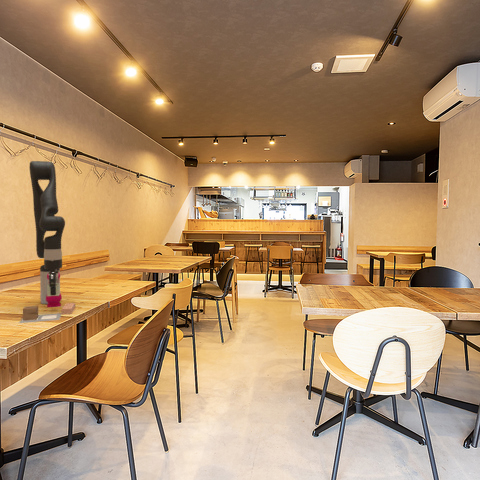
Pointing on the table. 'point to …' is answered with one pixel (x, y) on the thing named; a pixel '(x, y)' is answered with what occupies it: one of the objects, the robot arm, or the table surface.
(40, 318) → the board
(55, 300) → the pepper mill
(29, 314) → the walnut cube
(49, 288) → the sage cube
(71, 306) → the lintel
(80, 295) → the table surface
